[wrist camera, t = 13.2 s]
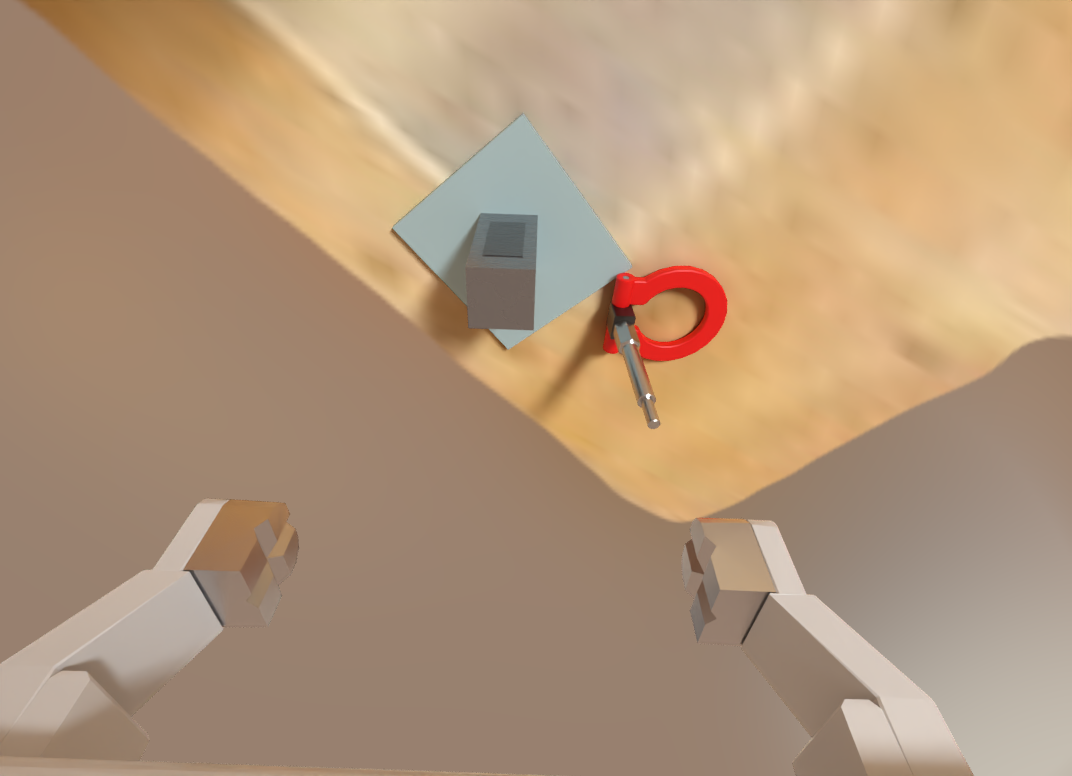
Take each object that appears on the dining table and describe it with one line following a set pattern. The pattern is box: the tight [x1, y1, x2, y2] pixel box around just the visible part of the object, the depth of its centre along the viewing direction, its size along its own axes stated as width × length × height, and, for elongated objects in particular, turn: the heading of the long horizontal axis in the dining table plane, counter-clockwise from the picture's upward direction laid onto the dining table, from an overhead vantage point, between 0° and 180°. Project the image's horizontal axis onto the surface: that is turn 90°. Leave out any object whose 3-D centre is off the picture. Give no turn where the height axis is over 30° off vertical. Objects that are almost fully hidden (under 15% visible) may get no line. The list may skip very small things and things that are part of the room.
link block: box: [465, 213, 538, 330], centre depth 35 cm, size 4×4×9 cm
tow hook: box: [603, 266, 727, 429], centre depth 38 cm, size 8×13×9 cm
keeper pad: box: [393, 113, 632, 349], centre depth 40 cm, size 13×12×1 cm
